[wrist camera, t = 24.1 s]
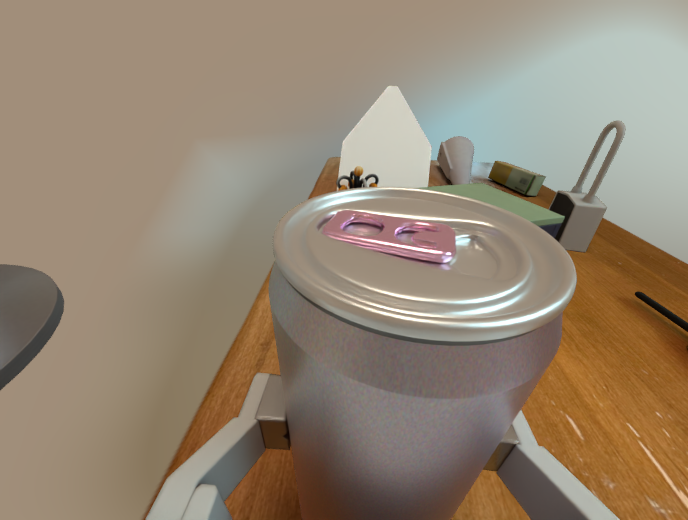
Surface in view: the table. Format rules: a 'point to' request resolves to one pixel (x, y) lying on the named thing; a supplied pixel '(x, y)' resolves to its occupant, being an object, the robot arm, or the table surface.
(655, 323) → the table surface
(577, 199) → the padlock
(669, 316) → the yellow walkie talkie
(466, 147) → the grey tapered piece
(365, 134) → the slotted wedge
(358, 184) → the black and orange candelabra
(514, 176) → the medication box
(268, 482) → the table surface
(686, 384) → the table surface
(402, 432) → the beverage can
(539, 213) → the cover
